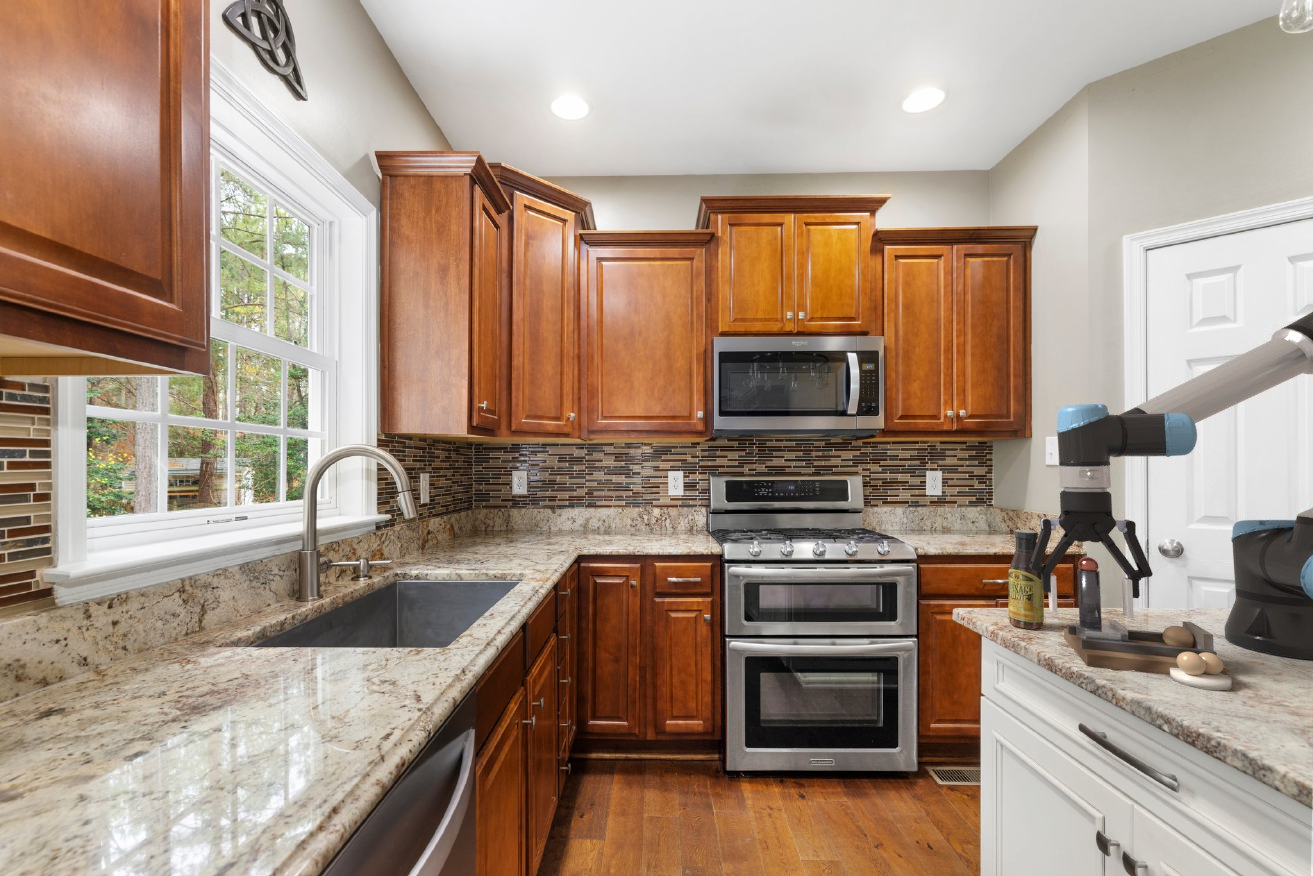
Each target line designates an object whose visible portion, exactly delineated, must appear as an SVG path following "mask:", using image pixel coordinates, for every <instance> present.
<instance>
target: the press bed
mask: <svg viewBox="0 0 1313 876" xmlns="http://www.w3.org/2000/svg"><path fill="white" fill-rule="evenodd" d="M1181 622H1182V623H1181V624H1182V627H1183V628H1185V629H1187V630H1188V631H1189V632H1190V633H1191V634H1192V635H1193V638H1194V644H1193V646H1192V647H1191V648H1186V647H1175V646H1168V645H1167V644H1166V643H1165V641H1164V640H1163V632H1161V631H1160V632H1159V631H1150V630H1149V631H1148V630H1135V629H1128V642H1119V641H1108V640H1097V639H1086V638H1079V636H1078V635H1077V634H1076V624H1067V628H1063V639H1064V640H1065V642H1066V643H1067V644H1068V645H1069V646H1070V648H1071V649H1072V650H1073V649H1074V650H1073V652H1075V654H1076V655H1077V656H1078V657H1079V658H1080V659H1081V660H1082V661H1083V663H1084V664H1085V665H1086V666H1087V667H1092V668H1100V667H1101V669H1102V668H1103V669H1111V670H1119V669H1122V670H1121V671H1129V670H1135V671H1134V672H1138V671H1140V673H1148V672H1149V674H1157V675H1158V674H1159V675H1167V674H1170V668H1171V667H1172V668H1179V667H1178V665H1177V662H1176V659H1177V656H1178V655H1179V654H1180V653H1183V652H1193V653H1196V654H1200V653H1203V652H1209V653H1213V654H1215V655H1217V656H1218V652H1217V651H1216V650H1214V649H1215V647H1214V634H1213V633H1211V632H1209V631H1208V630H1206V629H1204V628H1202V627H1200V626H1199V625H1197V624H1195V623H1194V622H1192V621H1184V620H1182V621H1181ZM1227 669H1228V668H1227V666H1224V667H1223V670H1222V671H1221V672H1220V673H1221V674H1224V675H1226V676H1228V670H1227ZM1150 672H1151V673H1150Z"/></svg>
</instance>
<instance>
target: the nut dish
mask: <svg viewBox="0 0 1313 876" xmlns="http://www.w3.org/2000/svg"><path fill="white" fill-rule="evenodd" d="M1176 662H1177V665H1178V667H1179V668H1172V667H1171V668H1170V675H1169V678H1170V679H1171V680H1172V679H1173V680H1172V681H1174V682H1176V681H1177V683H1178V684H1181V685H1184V686H1187V685H1188V687H1191V686H1194V687H1193V688H1195V687H1196V689H1200V688H1202V689H1201V690H1205V689H1206V691H1214V690H1218V691H1217V692H1219V690H1227V691H1230V690H1232V689H1231V688H1233V687H1232V683H1233V682H1232V678H1231V677H1229V676H1228V675H1227V676H1226V675H1224V674H1221V673H1220V672H1221V671H1222V670H1223V667H1225V666H1224V662H1223V660H1222V659H1221V658H1220V657H1219V656H1218V654H1217V655H1215V654H1213V653H1209V652H1203V653H1200V654H1196V653H1193V652H1183V653H1180V654H1179V655H1178V656H1177V659H1176Z"/></svg>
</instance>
